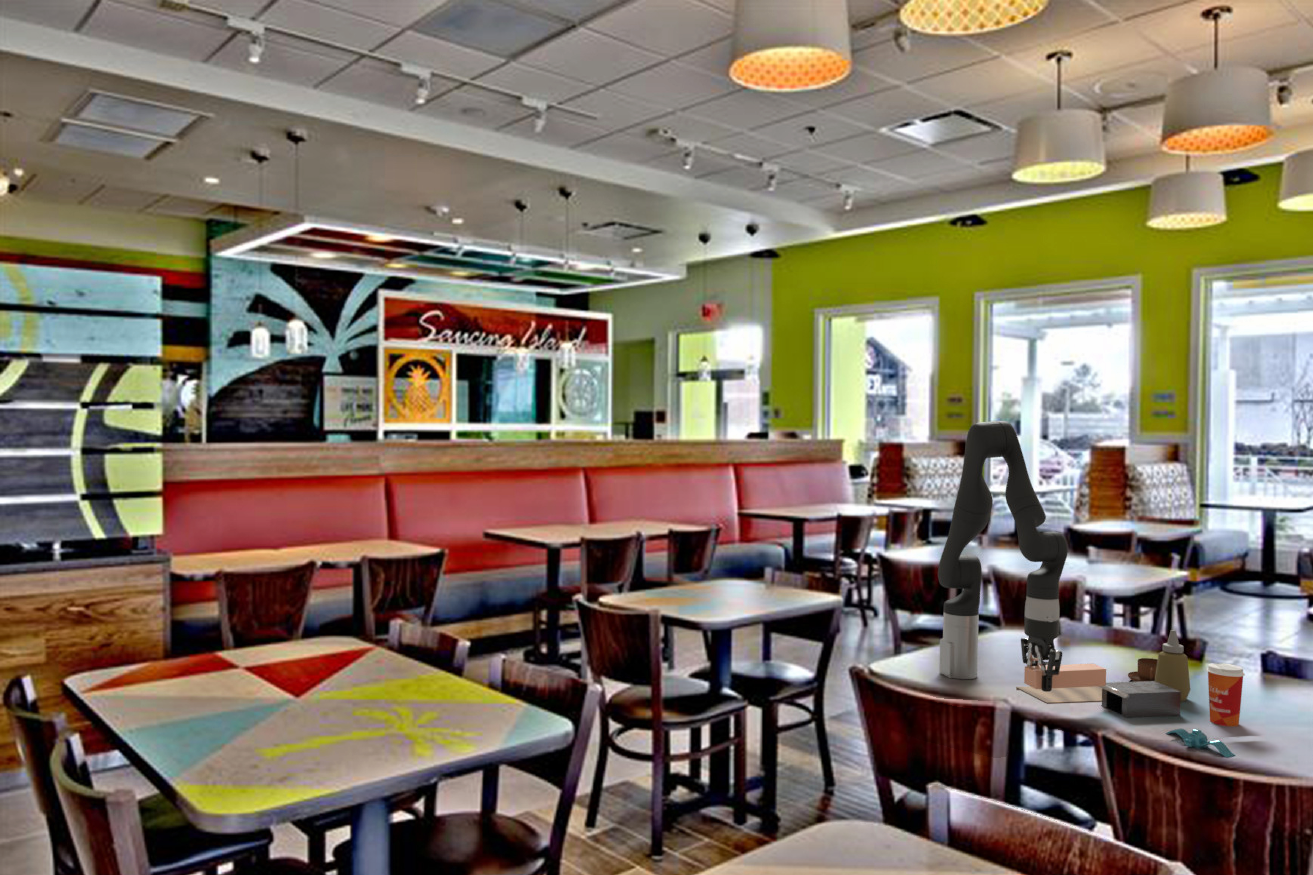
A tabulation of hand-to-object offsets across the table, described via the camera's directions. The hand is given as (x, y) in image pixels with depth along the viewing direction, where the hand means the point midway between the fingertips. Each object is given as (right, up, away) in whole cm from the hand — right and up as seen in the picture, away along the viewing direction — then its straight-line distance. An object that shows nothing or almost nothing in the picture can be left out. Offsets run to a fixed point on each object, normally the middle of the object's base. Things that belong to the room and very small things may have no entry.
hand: (1039, 687), depth 226 cm
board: (+17, -7, +18) cm, 26 cm away
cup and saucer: (+44, -8, +33) cm, 55 cm away
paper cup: (+41, -8, -4) cm, 42 cm away
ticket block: (+6, 0, +1) cm, 7 cm away
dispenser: (+26, -8, +4) cm, 27 cm away
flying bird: (+26, -8, -19) cm, 33 cm away
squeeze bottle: (+40, -8, +16) cm, 43 cm away
